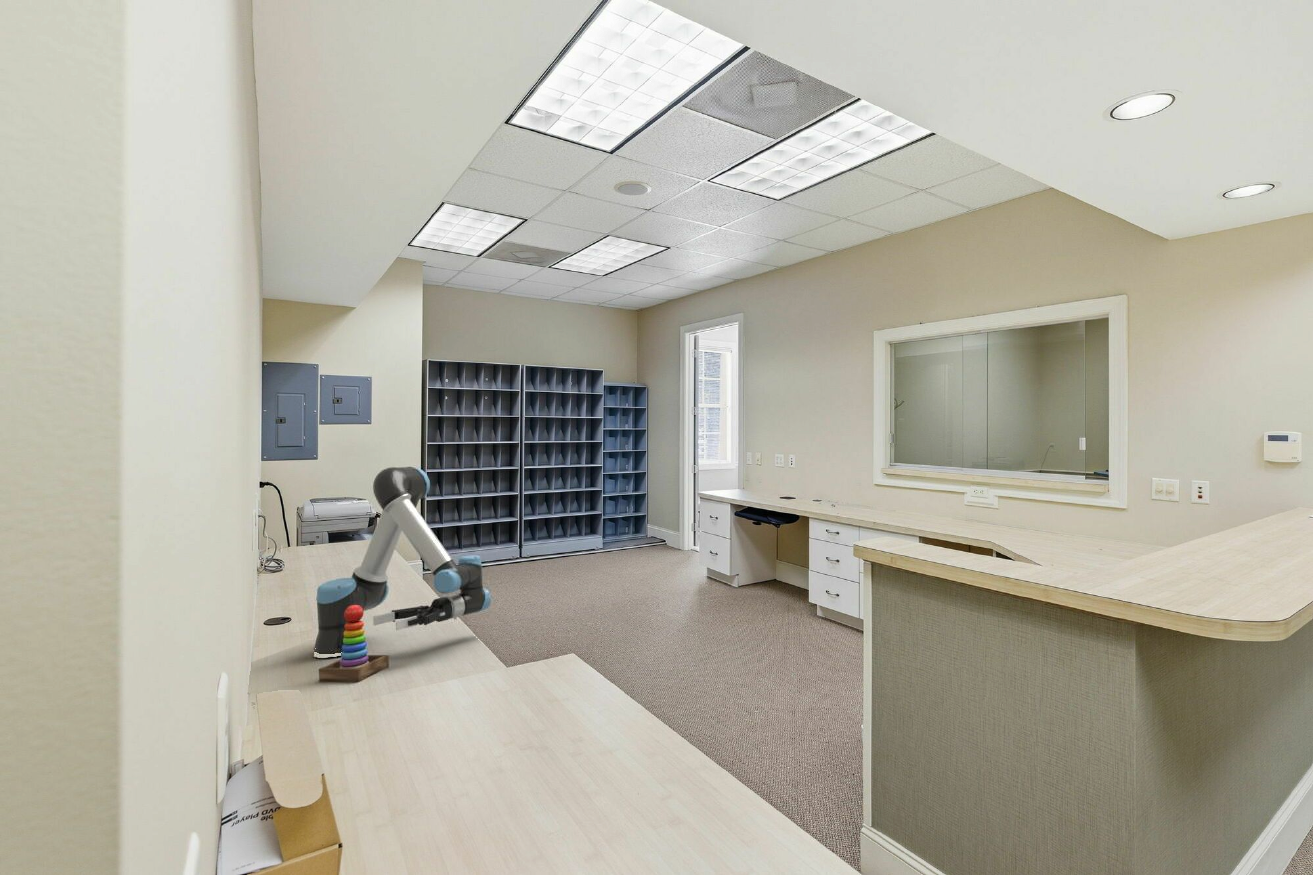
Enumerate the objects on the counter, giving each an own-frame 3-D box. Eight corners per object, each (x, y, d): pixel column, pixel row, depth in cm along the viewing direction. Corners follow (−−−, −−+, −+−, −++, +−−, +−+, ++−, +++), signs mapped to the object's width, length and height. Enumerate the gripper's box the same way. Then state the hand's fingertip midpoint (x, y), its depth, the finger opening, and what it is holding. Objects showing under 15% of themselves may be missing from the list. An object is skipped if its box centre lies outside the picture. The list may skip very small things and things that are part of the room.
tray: (351, 666, 189) (351, 654, 189) (389, 666, 186) (388, 654, 186) (319, 681, 176) (318, 668, 176) (358, 682, 173) (357, 669, 173)
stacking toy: (358, 674, 177) (355, 608, 177) (333, 674, 178) (330, 609, 179) (375, 665, 184) (372, 602, 185) (351, 665, 186) (349, 602, 187)
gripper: (469, 623, 198) (407, 640, 181) (427, 615, 213) (365, 631, 197) (468, 599, 198) (405, 614, 182) (425, 593, 214) (364, 607, 197)
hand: (384, 623), depth 189 cm, fingers open, 13 cm apart
